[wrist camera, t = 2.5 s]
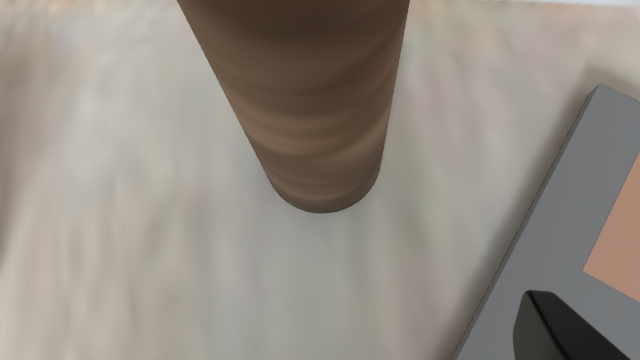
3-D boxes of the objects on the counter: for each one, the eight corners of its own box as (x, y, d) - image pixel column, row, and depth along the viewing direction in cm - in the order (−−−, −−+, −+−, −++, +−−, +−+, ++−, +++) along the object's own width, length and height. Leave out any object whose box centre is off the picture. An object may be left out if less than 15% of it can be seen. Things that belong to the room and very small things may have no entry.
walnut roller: (287, 230, 22) (189, 62, 8) (249, 126, 23) (114, -159, 10) (399, 188, 22) (475, -41, 9) (355, 87, 24) (362, -242, 10)
